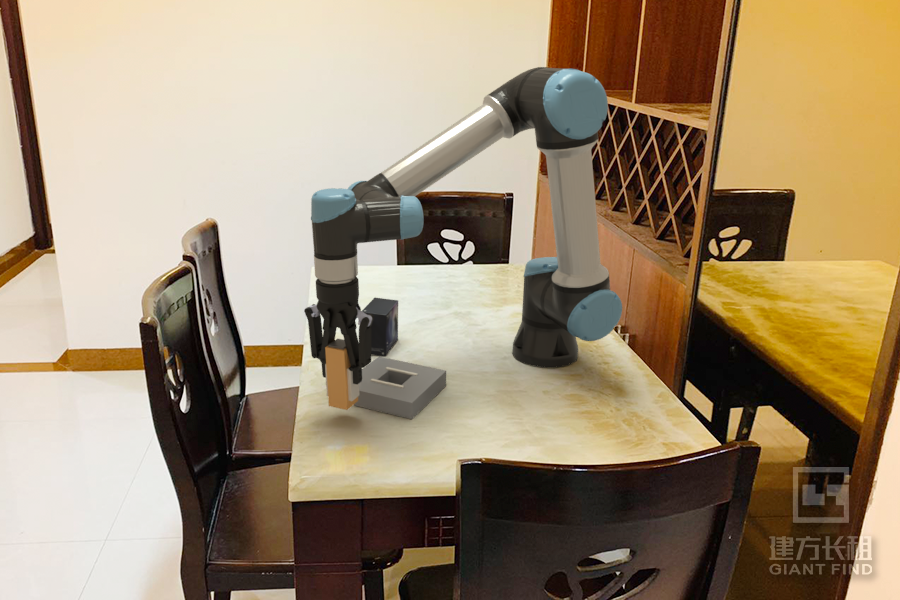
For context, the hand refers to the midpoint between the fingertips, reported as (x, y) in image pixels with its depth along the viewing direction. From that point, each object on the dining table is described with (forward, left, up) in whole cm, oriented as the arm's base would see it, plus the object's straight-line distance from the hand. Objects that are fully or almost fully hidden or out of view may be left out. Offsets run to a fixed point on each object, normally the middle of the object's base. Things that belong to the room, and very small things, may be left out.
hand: (343, 395), depth 136 cm
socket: (-4, -14, -5) cm, 15 cm away
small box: (+11, -33, -5) cm, 35 cm away
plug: (0, 0, -2) cm, 2 cm away
